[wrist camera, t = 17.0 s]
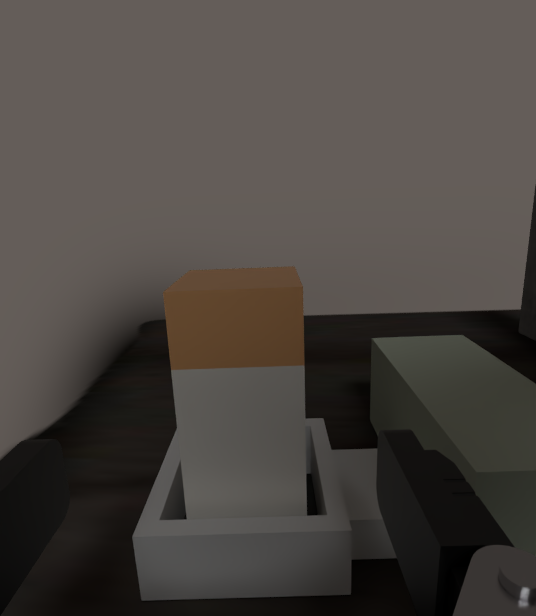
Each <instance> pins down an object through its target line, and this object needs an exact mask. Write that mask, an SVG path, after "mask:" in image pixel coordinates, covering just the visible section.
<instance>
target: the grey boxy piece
mask: <svg viewBox="0 0 536 616" xmlns="http://www.w3.org/2000/svg"><path fill="white" fill-rule="evenodd" d="M370 421H371V423H372V425H373V427H374V429H375V431H376V433H377V436H378V433H379V431H380V430H401V429H410V430H412V431H413V433H414V434H415V436H416V437H417V439H418V440H419V442H420V444H421V445H422V447H423V448H424V450H437V451H438V452H440V453H441V454H443V455H444V456H445V457H447V458H448V459H450V460H451V461H452V462H454V463H455V465H456V466H457V467H458V469H459V470H460V472H461V473H462V474H463V476H464V477H465V478H466V482H468V483H469V484H470V485H471V487H472V488H473V490H474V491H475V494H476V496H478V497H479V498H480V499H481V501H482V502H483V504H484V505H485V506H486V508H487V509H488V511H489V512H490V513H491V515H492V516H493V517H494V519H495V520H496V522H497V523H498V524H499V526H500V527H501V529H502V530H503V531H504V533H505V534H506V536H507V537H508V538H509V540H510V541H511V543H512V544H513V545H514V547H515V548H518V549H521V550H524V551H526V552H528V553H530V554H533V555H534V556H536V384H535V383H534V382H532V381H531V380H529V379H528V378H526V377H525V376H523V375H522V374H520V373H519V372H517V371H516V370H514V369H513V368H511V367H510V366H508V365H507V364H505V363H504V362H502V361H501V360H499V359H498V358H496V357H495V356H493V355H492V354H490V353H489V352H487V351H486V350H484V349H483V348H481V347H480V346H478V345H477V344H475V343H474V342H472V341H471V340H469V339H468V338H466V337H465V336H463V335H448V336H420V337H392V338H372V353H371V393H370ZM305 433H306V474H311V476H312V482H313V488H314V495H315V501H316V507H317V514H318V515H313V516H281V517H248V518H216V519H184V517H185V513H186V507H185V497H184V488H183V478H182V469H181V459H180V449H179V440H178V430H176V432H175V435H174V437H173V440H172V442H171V444H170V447H169V449H168V452H167V454H166V457H165V459H164V461H163V464H162V466H161V469H160V471H159V473H158V476H157V478H156V481H155V483H154V486H153V488H152V490H151V493H150V495H149V498H148V500H147V503H146V505H145V507H144V510H143V512H142V515H141V517H140V519H139V522H138V524H137V527H136V529H135V532H134V534H133V536H132V539H133V546H134V553H135V560H136V567H137V573H138V580H139V587H140V594H141V601H146V600H181V599H215V598H250V597H285V596H320V595H351V560H354V559H387V558H397V557H396V554H395V552H394V549H393V546H392V543H391V541H390V538H389V535H388V532H387V529H386V527H385V524H384V521H383V518H382V516H381V513H380V509H379V505H378V499H377V490H376V477H377V449H348V450H331V447H330V443H329V439H328V435H327V431H326V427H325V423H324V420H323V418H313V419H305Z"/></svg>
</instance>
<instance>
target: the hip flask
mask: <svg viewBox="0 0 536 616" xmlns="http://www.w3.org/2000/svg"><path fill="white" fill-rule="evenodd" d="M518 332H519V333H521V334H523V335H525V336H527V337H529V338H531V339H533V340H535V341H536V186H535V195H534V203H533V212H532V220H531V229H530V237H529V246H528V254H527V262H526V271H525V279H524V288H523V297H522V305H521V313H520V322H519V330H518Z"/></svg>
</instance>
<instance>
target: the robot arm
mask: <svg viewBox="0 0 536 616" xmlns="http://www.w3.org/2000/svg"><path fill="white" fill-rule="evenodd" d="M376 490H377V499H378V505H379V509H380V513H381V516H382V518H383V521H384V524H385V527H386V529H387V532H388V535H389V538H390V541H391V543H392V546H393V549H394V552H395V554H396V557H397V560H398V563H399V566H400V568H401V571H402V574H403V577H404V579H405V582H406V585H407V588H408V591H409V593H410V596H411V599H412V602H413V604H414V607H415V610H416V613H417V616H536V556H534V555H533V554H530V553H528V552H526V551H524V550H521V549H518V548H515V547H514V545H513V544H512V543H511V541H510V540H509V538H508V537H507V536H506V534H505V533H504V531H503V530H502V529H501V527H500V526H499V524H498V523H497V522H496V520H495V519H494V517H493V516H492V515H491V513H490V512H489V511H488V509H487V508H486V506H485V505H484V504H483V502H482V501H481V499H480V498H479V497H478V496H476V494H475V491H474V490H473V488H472V487H471V485H470V484H469V483H468V482H466V478H465V477H464V476H463V474H462V473H461V472H460V470H459V469H458V467H457V466H456V465H455V463H454V462H452V461H451V460H450V459H448V458H447V457H445V456H444V455H443V454H441V453H440V452H438V451H437V450H424V448H423V447H422V445H421V444H420V442H419V440H418V439H417V437H416V436H415V434H414V433H413V431H412V430H410V429H401V430H380V431H379V433H378V445H377V477H376ZM69 499H70V493H69V487H68V481H67V476H66V470H65V465H64V459H63V454H62V449H61V445H60V443H59V442H58V441H57V440H56V439H44V440H24V441H21V442H20V443H19V444H18V445H17V446H16V447H15V448H13V449H12V450H11V451H10V452H9V453H8V454H7V455H6V456H5V457H4V458H3V459H2V460H1V461H0V615H1V614H2V612H3V611H4V609H5V608H6V606H7V605H8V603H9V602H10V600H11V599H12V597H13V596H14V594H15V593H16V591H17V590H18V588H19V587H20V585H21V584H22V582H23V581H24V579H25V578H26V576H27V575H28V573H29V572H30V570H31V569H32V567H33V566H34V564H35V562H36V561H37V559H38V558H39V556H40V555H41V553H42V552H43V550H44V549H45V547H46V546H47V544H48V543H49V541H50V540H51V538H52V537H53V535H54V534H55V532H56V531H57V529H58V528H59V526H60V525H61V523H62V522H63V520H64V518H65V516H66V513H67V510H68V506H69Z"/></svg>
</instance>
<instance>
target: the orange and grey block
mask: <svg viewBox="0 0 536 616" xmlns="http://www.w3.org/2000/svg"><path fill="white" fill-rule="evenodd" d="M163 295H164V305H165V315H166V324H167V334H168V344H169V353H170V363H171V372H172V382H173V392H174V401H175V411H176V420H177V430H178V440H179V449H180V459H181V469H182V478H183V488H184V497H185V507H186V517H187V519H216V518H248V517H281V516H307V489H306V433H305V377H304V321H303V286H302V284H301V281H300V279H299V276H298V274H297V271H296V269H295V267H267V268H242V269H216V270H190V271H189V272H187V273H186V274H185V275H184V276H182V277H181V278H180V279H179V280H178V281H176V282H175V283H174V284H172V285H171V286H170V287H169V288H168V289H166V290H165V291H164V292H163Z"/></svg>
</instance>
